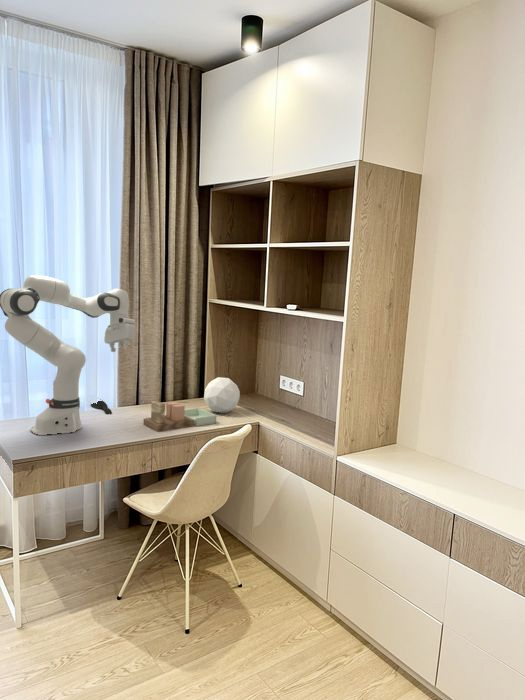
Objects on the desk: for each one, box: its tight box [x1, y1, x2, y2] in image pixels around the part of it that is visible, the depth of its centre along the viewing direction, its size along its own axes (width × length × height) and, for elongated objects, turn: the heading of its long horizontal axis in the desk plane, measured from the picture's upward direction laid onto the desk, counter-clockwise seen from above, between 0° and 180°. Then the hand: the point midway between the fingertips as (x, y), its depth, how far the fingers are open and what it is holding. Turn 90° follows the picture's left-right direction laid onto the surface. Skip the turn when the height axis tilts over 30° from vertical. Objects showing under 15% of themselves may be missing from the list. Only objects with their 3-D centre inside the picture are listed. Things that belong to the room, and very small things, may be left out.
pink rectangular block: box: [165, 401, 180, 419], centre depth 266 cm, size 5×4×7 cm
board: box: [142, 414, 195, 432], centre depth 263 cm, size 20×14×3 cm
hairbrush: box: [90, 398, 113, 415], centre depth 287 cm, size 8×4×25 cm
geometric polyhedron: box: [203, 376, 241, 414], centre depth 291 cm, size 19×20×20 cm
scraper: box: [150, 400, 166, 423], centre depth 258 cm, size 3×8×9 cm, turn 39°
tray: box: [184, 407, 217, 427], centre depth 273 cm, size 12×17×4 cm
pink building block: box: [171, 403, 186, 421], centre depth 263 cm, size 5×4×7 cm
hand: (119, 350), depth 258 cm, fingers open, 8 cm apart
